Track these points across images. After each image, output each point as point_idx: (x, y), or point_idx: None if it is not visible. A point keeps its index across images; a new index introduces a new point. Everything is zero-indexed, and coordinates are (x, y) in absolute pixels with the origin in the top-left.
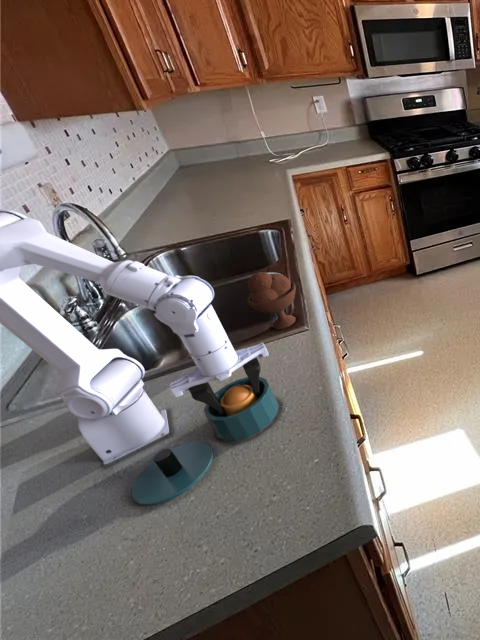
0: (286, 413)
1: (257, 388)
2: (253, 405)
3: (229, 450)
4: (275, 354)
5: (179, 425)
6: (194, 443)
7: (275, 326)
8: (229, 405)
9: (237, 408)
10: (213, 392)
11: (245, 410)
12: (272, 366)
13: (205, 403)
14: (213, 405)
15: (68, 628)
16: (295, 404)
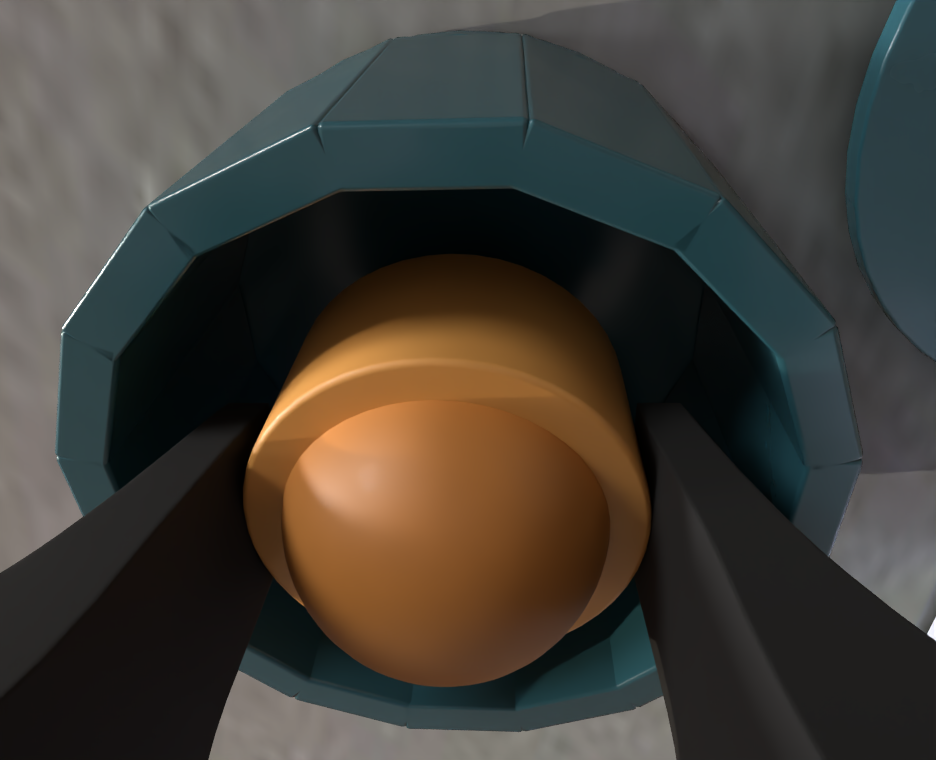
0: (150, 130)
1: (158, 470)
2: (251, 188)
3: (721, 24)
4: (232, 745)
5: (878, 592)
6: (931, 326)
7: None
8: (563, 429)
9: (489, 331)
10: (680, 742)
11: (377, 154)
12: (254, 678)
13: (914, 626)
14: (767, 531)
15: None
16: (66, 192)
